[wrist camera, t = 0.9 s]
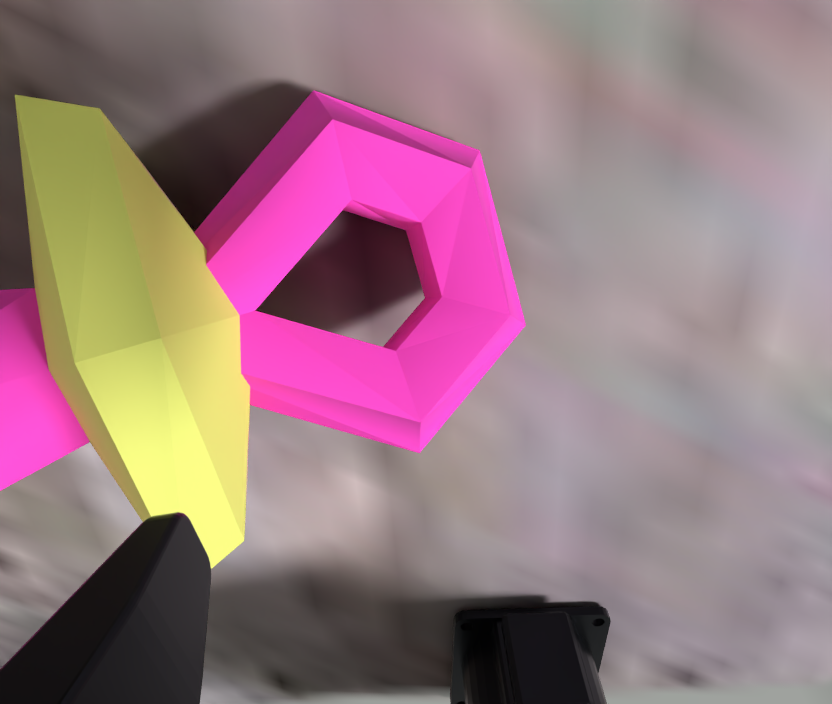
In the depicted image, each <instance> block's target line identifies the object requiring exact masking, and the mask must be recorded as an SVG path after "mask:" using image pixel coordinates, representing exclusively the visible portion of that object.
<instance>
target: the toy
mask: <svg viewBox="0 0 832 704" xmlns="http://www.w3.org/2000/svg"><path fill="white" fill-rule="evenodd" d="M15 102H16V112H17V122H18V131H19V141H20V150H21V160H22V169H23V179H24V189H25V198H26V208H27V217H28V227H29V236H30V246H31V256H32V265H33V275H34V284H35V288H24V289H8V290H0V491H1V490H2V489H4V488H6V487H8V486H10V485H12V484H13V483H15V482H17V481H19V480H21V479H23V478H25V477H26V476H28V475H30V474H32V473H34V472H36V471H37V470H39V469H41V468H43V467H45V466H47V465H48V464H50V463H52V462H54V461H56V460H58V459H59V458H61V457H63V456H65V455H67V454H69V453H70V452H72V451H74V450H76V449H78V448H80V447H81V446H83V445H85V444H87V443H89V442H90V443H91V444H92V446H93V447H94V449H95V450H96V452H97V453H98V455H99V456H100V458H101V459H102V461H103V462H104V464H105V465H106V467H107V468H108V470H109V471H110V473H111V474H112V476H113V477H114V479H115V480H116V482H117V483H118V485H119V486H120V488H121V489H122V491H123V492H124V494H125V496H126V497H127V499H128V500H129V502H130V503H131V505H132V506H133V508H134V509H135V511H136V512H137V514H138V515H139V517H140V518H141V520H142V521H143V522H144V521H145V520H146V519H148V518H149V517H152V516H156V515H162V514H169V513H176V512H180V513H184V514H185V515H186V516H188V518H189V519H190V521H191V523H192V525H193V527H194V529H195V531H196V533H197V535H198V537H199V539H200V541H201V543H202V545H203V547H204V549H205V551H206V553H207V555H208V557H209V561H210V565H211V569H212V568H213V567H214V566H215V565H216V564H218V563H219V562H220V561H221V560H222V559H223V558H225V557H226V556H227V555H228V554H229V553H230V552H232V551H233V550H234V549H235V548H236V547H237V546H239V545H240V544H241V543H242V542H243V541H244V534H245V514H246V494H247V473H248V443H249V414H250V405H253V406H256V407H260V408H263V409H267V410H270V411H274V412H277V413H281V414H284V415H288V416H291V417H295V418H298V419H302V420H305V421H309V422H312V423H316V424H319V425H323V426H326V427H330V428H333V429H337V430H340V431H344V432H347V433H351V434H354V435H358V436H361V437H365V438H368V439H372V440H375V441H379V442H382V443H386V444H389V445H393V446H396V447H400V448H403V449H407V450H410V451H414V452H418V453H420V452H421V451H422V449H423V448H424V447H425V446H426V445H427V443H428V442H429V441H430V440H431V439H432V437H433V436H434V435H435V434H436V433H437V431H438V430H439V429H440V428H441V427H442V425H443V424H444V423H445V422H446V421H447V419H448V418H449V417H450V416H451V415H452V413H453V412H454V411H455V410H456V409H457V407H458V406H459V405H460V404H461V403H462V401H463V400H464V399H465V398H466V397H467V395H468V394H469V393H470V392H471V391H472V389H473V388H474V387H475V386H476V384H477V383H478V382H479V381H480V380H481V378H482V377H483V376H484V375H485V374H486V372H487V371H488V370H489V369H490V368H491V366H492V365H493V364H494V363H495V362H496V360H497V359H498V358H499V357H500V356H501V354H502V353H503V352H504V351H505V350H506V348H507V347H508V346H509V345H510V344H511V342H512V341H513V340H514V339H515V338H516V336H517V335H518V334H519V333H520V332H521V330H522V329H523V328H524V327H525V326H526V324H525V320H524V316H523V312H522V309H521V305H520V301H519V297H518V293H517V290H516V286H515V282H514V278H513V275H512V271H511V267H510V263H509V259H508V256H507V252H506V248H505V244H504V241H503V237H502V233H501V229H500V225H499V222H498V218H497V214H496V210H495V206H494V203H493V199H492V195H491V191H490V188H489V184H488V180H487V176H486V172H485V169H484V165H483V161H482V157H481V154H480V150H477V149H474V148H472V147H469V146H466V145H463V144H460V143H458V142H455V141H452V140H449V139H447V138H444V137H441V136H438V135H436V134H433V133H430V132H427V131H425V130H422V129H419V128H416V127H413V126H411V125H408V124H405V123H402V122H400V121H397V120H394V119H391V118H389V117H386V116H383V115H380V114H378V113H375V112H372V111H369V110H367V109H364V108H361V107H358V106H355V105H353V104H350V103H347V102H344V101H342V100H339V99H336V98H333V97H331V96H328V95H325V94H322V93H320V92H317V91H314V90H313V91H312V92H311V94H310V95H309V96H308V97H307V98H306V100H305V101H304V102H303V103H302V104H301V106H300V107H299V108H298V109H297V110H296V112H295V113H294V114H293V115H292V116H291V117H290V119H289V120H288V121H287V122H286V123H285V125H284V126H283V127H282V128H281V129H280V131H279V132H278V133H277V134H276V135H275V137H274V138H273V139H272V140H271V141H270V143H269V144H268V145H267V146H266V147H265V148H264V150H263V151H262V152H261V153H260V154H259V156H258V157H257V158H256V159H255V160H254V162H253V163H252V164H251V165H250V166H249V168H248V169H247V170H246V171H245V172H244V174H243V175H242V176H241V177H240V178H239V179H238V181H237V182H236V183H235V184H234V185H233V187H232V188H231V189H230V190H229V191H228V193H227V194H226V195H225V196H224V197H223V199H222V200H221V201H220V202H219V203H218V205H217V206H216V207H215V208H214V209H213V210H212V212H211V213H210V214H209V215H208V216H207V218H206V219H205V220H204V221H203V222H202V224H201V225H200V226H199V227H198V228H197V230H196V231H195V232H193V230H192V229H191V228H190V226H189V225H188V224H187V222H186V221H185V220H184V218H183V217H182V216H181V214H180V213H179V212H178V210H177V209H176V208H175V206H174V205H173V204H172V202H171V201H170V200H169V198H168V197H167V196H166V194H165V193H164V192H163V190H162V189H161V188H160V186H159V185H158V184H157V182H156V181H155V180H154V178H153V177H152V176H151V174H150V173H149V171H148V170H147V169H146V167H145V166H144V165H143V164H142V162H141V161H140V160H139V158H138V157H137V156H136V155H135V153H134V152H133V151H132V149H131V148H130V147H129V146H128V144H127V143H126V142H125V140H124V139H123V138H122V136H121V135H120V134H119V133H118V131H117V130H116V129H115V127H114V126H113V125H112V124H111V122H110V121H109V120H108V118H107V117H106V116H105V115H104V113H103V112H102V111H101V109H100V108H94V107H87V106H81V105H75V104H69V103H63V102H57V101H51V100H45V99H39V98H33V97H27V96H21V95H15ZM342 210H344V211H347V212H350V213H353V214H357V215H360V216H363V217H366V218H369V219H372V220H375V221H378V222H381V223H385V224H388V225H391V226H394V227H397V228H400V229H403V230H406V232H407V236H408V239H409V243H410V246H411V250H412V253H413V257H414V260H415V264H416V268H417V271H418V275H419V278H420V282H421V285H422V289H423V292H424V296H425V299H424V300H423V301H422V302H421V303H420V305H419V306H418V307H417V308H416V309H415V310H414V312H413V313H412V314H411V315H410V316H409V317H408V319H407V320H406V321H405V322H404V323H403V324H402V326H401V327H400V328H399V329H398V330H397V331H396V333H395V334H394V335H393V336H392V337H391V338H390V340H389V341H388V342H387V343H386V344H385V345H384V347H381V346H377V345H374V344H370V343H367V342H363V341H360V340H356V339H353V338H349V337H346V336H342V335H339V334H335V333H332V332H328V331H325V330H321V329H318V328H314V327H311V326H307V325H304V324H300V323H297V322H293V321H290V320H286V319H283V318H279V317H276V316H272V315H269V314H265V313H262V312H258V311H255V310H256V309H257V308H258V307H259V306H260V304H261V303H262V302H263V301H264V300H265V299H266V298H267V296H268V295H269V294H270V293H271V292H272V291H273V290H274V288H275V287H276V286H277V285H278V284H279V283H280V281H281V280H282V279H283V278H284V277H285V276H286V275H287V273H288V272H289V271H290V270H291V269H292V268H293V267H294V265H295V264H296V263H297V262H298V261H299V260H300V259H301V257H302V256H303V255H304V254H305V253H306V252H307V250H308V249H309V248H310V247H311V246H312V245H313V244H314V242H315V241H316V240H317V239H318V238H319V237H320V236H321V234H322V233H323V232H324V231H325V230H326V229H327V227H328V226H329V225H330V224H331V223H332V222H333V221H334V219H335V218H336V217H337V216H338V215H339V214H340V213H341V211H342Z"/></svg>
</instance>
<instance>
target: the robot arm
mask: <svg viewBox="0 0 832 704" xmlns="http://www.w3.org/2000/svg"><path fill="white" fill-rule="evenodd" d="M210 585H211V565H210V561H209V557H208V555H207V553H206V551H205V549H204V547H203V545H202V543H201V541H200V539H199V537H198V535H197V533H196V531H195V529H194V527H193V525H192V523H191V521H190V519H189V518H188V516H186V515H185V514H184V513H180V512H176V513H169V514H162V515H156V516H152V517H149V518H148V519H146V520H145V521H144V522H143V523H142V524H141V525H140V526H139V527H138V528H137V529H136V530H135V531H134V532H133V533H132V534H131V535H130V536H129V537H128V538H127V539H126V540H125V541H124V542H123V543H122V544H121V545H120V546H119V547H118V548H117V549H116V550H115V551H114V552H113V553H112V555H111V556H110V557H109V558H108V559H107V560H106V561H105V562H104V563H103V564H102V565H101V566H100V567H99V568H98V569H97V570H96V571H95V572H94V573H93V574H92V575H91V576H90V577H89V578H88V579H87V580H86V581H85V582H84V583H83V584H82V586H81V587H80V588H79V589H78V590H77V591H76V592H75V593H74V594H73V595H72V596H71V597H70V598H69V599H68V600H67V601H66V602H65V603H64V604H63V605H62V606H61V607H60V608H59V609H58V610H57V611H56V612H55V613H54V614H53V615H52V616H51V618H50V619H49V620H48V621H47V622H46V623H45V624H44V625H43V626H42V627H41V628H40V629H39V630H38V631H37V632H36V633H35V634H34V635H33V636H32V637H31V638H30V639H29V640H28V641H27V642H26V643H25V644H24V645H23V646H22V647H21V649H20V650H19V651H18V652H17V653H16V654H15V655H14V656H13V657H12V658H11V659H10V660H9V661H8V662H7V663H6V664H5V665H4V666H3V667H2V668H1V669H0V704H200V695H201V686H202V676H203V665H204V653H205V642H206V630H207V619H208V607H209V596H210ZM609 626H610V617H609V614H608V611H607V610H606V608H603V607H598V606H595V607H562V608H530V609H498V610H466V611H461V612H459V613H457V614H456V615H455V617H454V628H453V648H452V668H451V688H450V702H451V704H607V702H606V699H605V696H604V692H603V689H602V685H601V682H600V679H599V675H598V672H599V668H600V664H601V660H602V656H603V651H604V647H605V643H606V639H607V634H608V630H609Z"/></svg>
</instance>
